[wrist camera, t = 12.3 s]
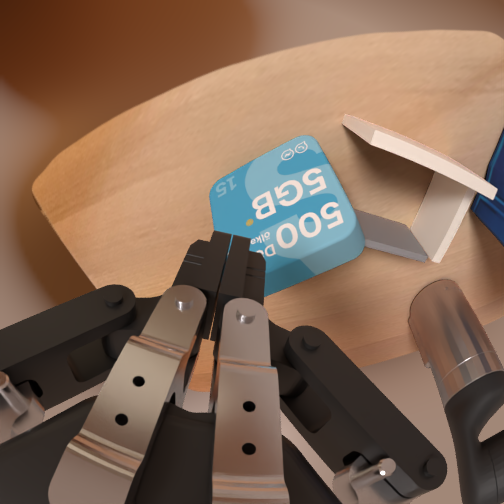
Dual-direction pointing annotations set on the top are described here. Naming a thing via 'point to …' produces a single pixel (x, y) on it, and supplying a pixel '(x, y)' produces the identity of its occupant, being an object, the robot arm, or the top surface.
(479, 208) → the book
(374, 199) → the top surface
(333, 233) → the data package
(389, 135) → the shelf nook
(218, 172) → the top surface
